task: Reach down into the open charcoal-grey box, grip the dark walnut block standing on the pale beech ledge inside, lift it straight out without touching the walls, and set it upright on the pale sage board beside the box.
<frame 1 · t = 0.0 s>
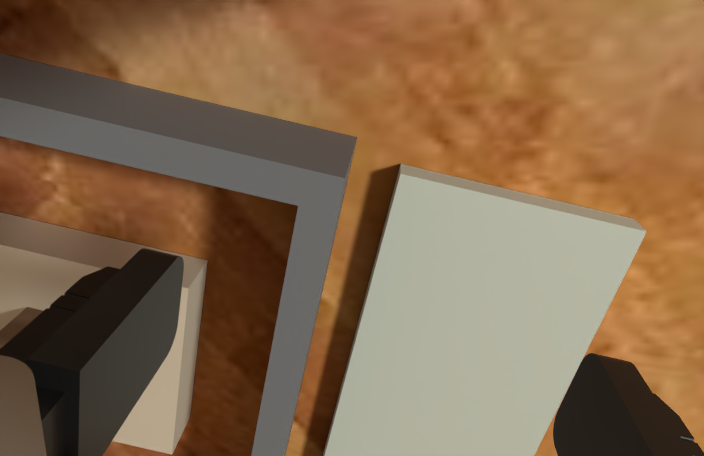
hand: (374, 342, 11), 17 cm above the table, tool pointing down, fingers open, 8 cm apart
walnut block: (73, 354, 30), point 3 cm above the table, touching access box
access box: (100, 322, 33), on the table
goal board: (448, 375, 32), on the table
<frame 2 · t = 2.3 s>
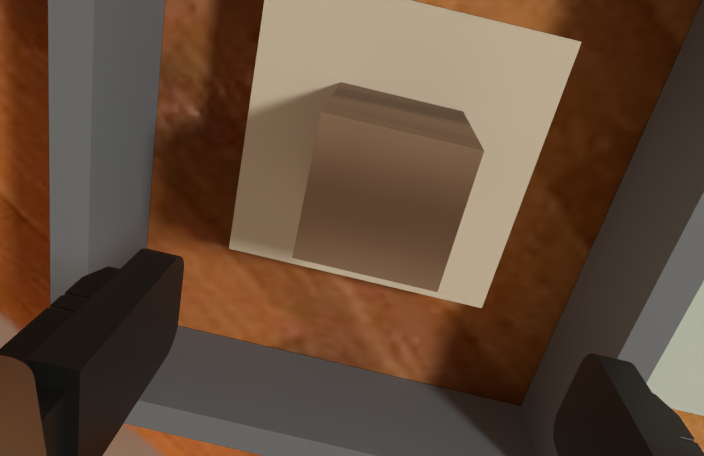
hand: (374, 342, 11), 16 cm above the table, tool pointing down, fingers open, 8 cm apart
walnut block: (387, 155, 23), point 3 cm above the table, touching access box
access box: (388, 138, 25), on the table
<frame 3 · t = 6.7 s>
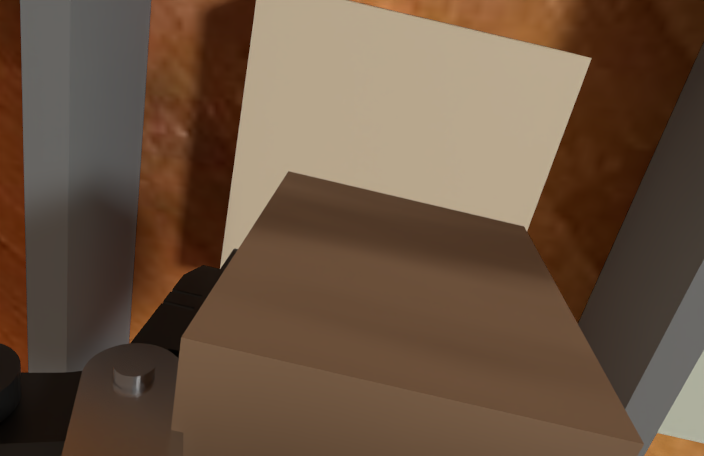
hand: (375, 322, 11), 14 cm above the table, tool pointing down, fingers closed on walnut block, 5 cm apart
walnut block: (378, 300, 12), point 13 cm above the table, touching gripper
access box: (386, 159, 24), on the table
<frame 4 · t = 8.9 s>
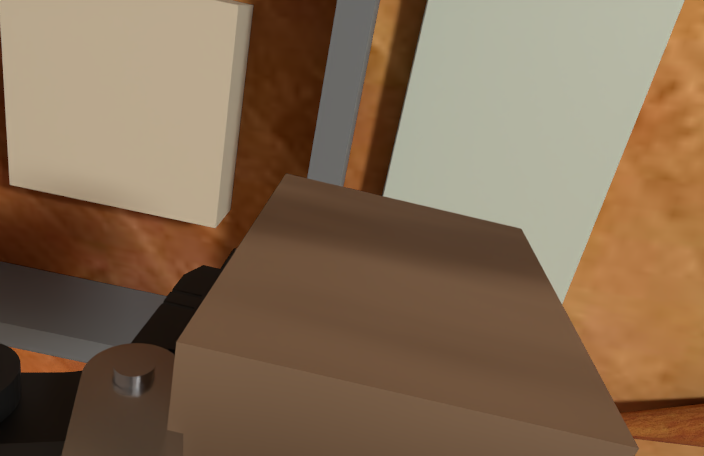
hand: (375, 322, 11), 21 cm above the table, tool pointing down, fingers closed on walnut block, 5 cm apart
walnut block: (376, 302, 12), point 20 cm above the table, touching gripper
access box: (139, 93, 31), on the table
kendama: (585, 397, 38), on the table
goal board: (504, 134, 31), on the table
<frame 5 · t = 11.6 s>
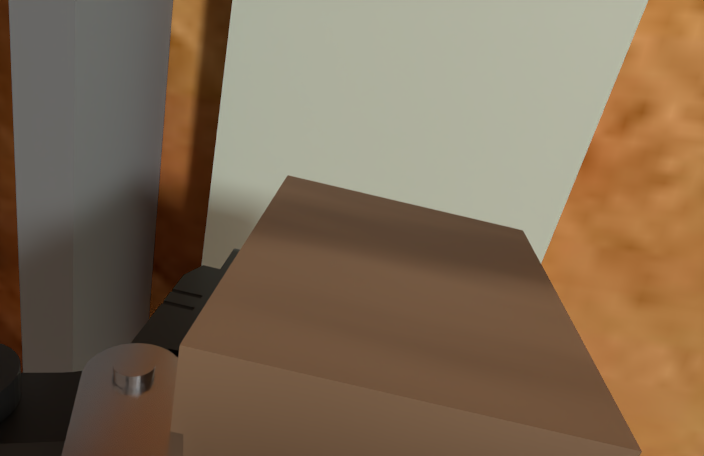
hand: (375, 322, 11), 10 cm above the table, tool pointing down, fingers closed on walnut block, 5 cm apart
walnut block: (377, 304, 12), point 9 cm above the table, touching gripper
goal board: (386, 176, 20), on the table
when the fingers open (4 cm above the table, at t = 13.6 s): walnut block drops 1 cm, resting on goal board.
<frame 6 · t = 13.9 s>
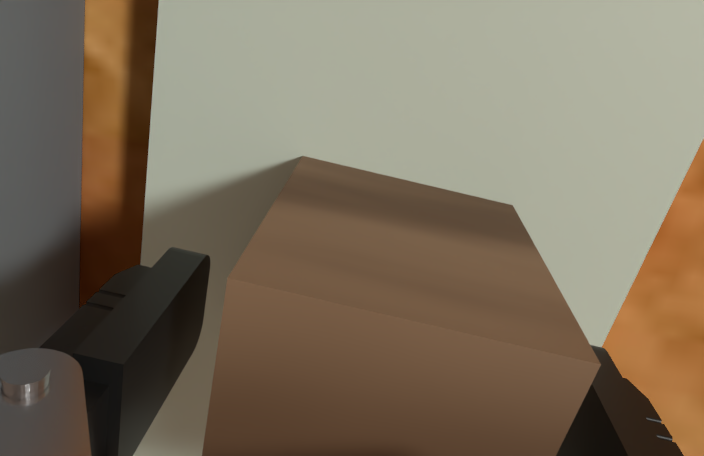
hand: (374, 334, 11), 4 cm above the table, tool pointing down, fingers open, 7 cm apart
walnut block: (382, 273, 14), point 1 cm above the table, touching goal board
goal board: (381, 245, 15), on the table
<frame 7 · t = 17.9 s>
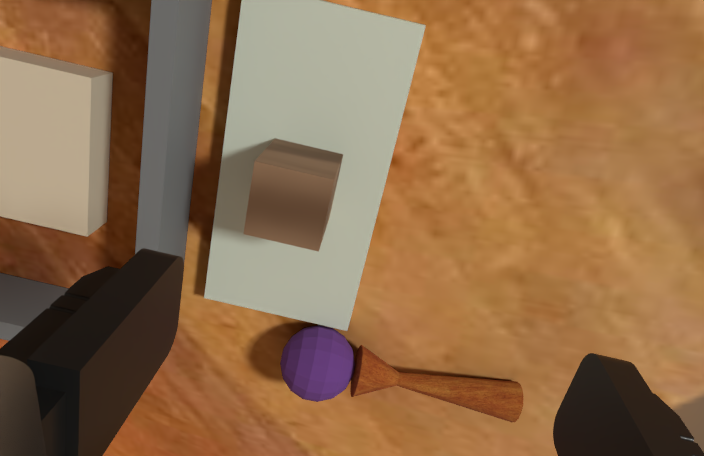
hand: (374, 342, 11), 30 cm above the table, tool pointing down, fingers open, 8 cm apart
walnut block: (302, 178, 40), point 1 cm above the table, touching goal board
access box: (33, 133, 42), on the table
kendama: (400, 360, 48), on the table
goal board: (305, 171, 41), on the table
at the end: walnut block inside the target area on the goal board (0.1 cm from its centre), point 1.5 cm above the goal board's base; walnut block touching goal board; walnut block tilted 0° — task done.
